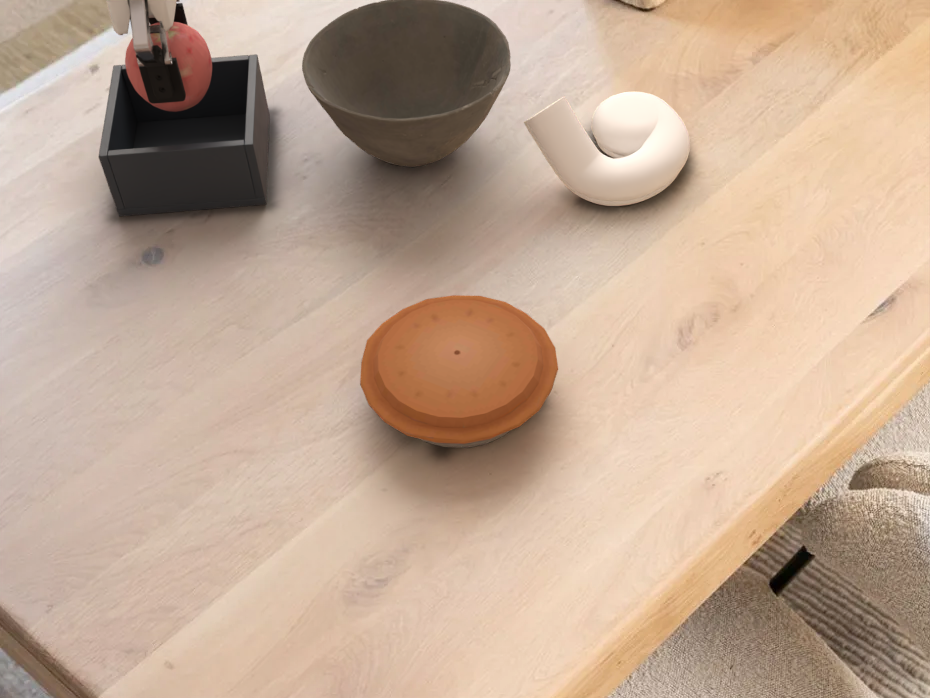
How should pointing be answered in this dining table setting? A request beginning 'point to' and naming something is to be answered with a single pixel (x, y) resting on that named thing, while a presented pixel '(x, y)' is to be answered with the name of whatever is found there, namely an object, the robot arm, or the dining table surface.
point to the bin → (188, 144)
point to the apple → (190, 61)
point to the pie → (458, 370)
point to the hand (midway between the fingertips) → (171, 71)
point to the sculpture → (614, 147)
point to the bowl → (408, 76)
